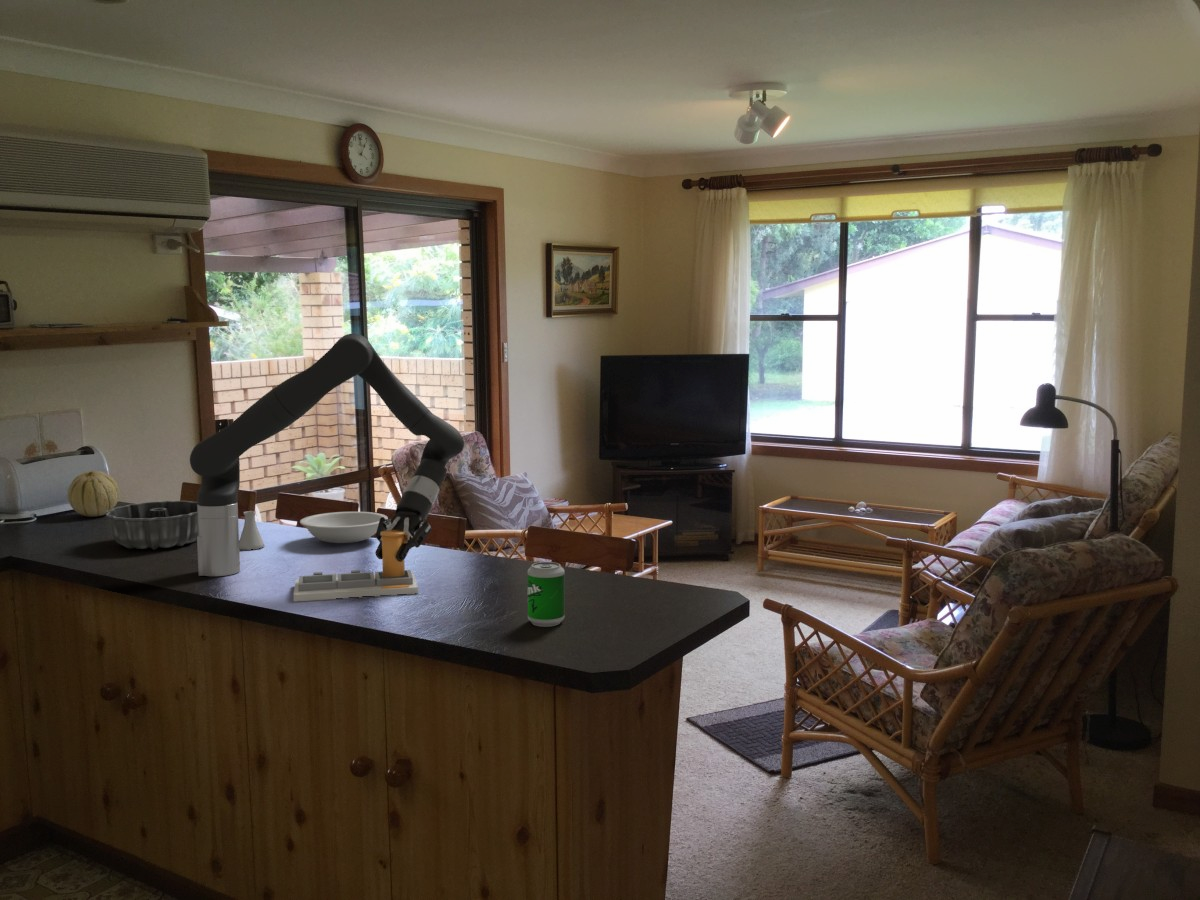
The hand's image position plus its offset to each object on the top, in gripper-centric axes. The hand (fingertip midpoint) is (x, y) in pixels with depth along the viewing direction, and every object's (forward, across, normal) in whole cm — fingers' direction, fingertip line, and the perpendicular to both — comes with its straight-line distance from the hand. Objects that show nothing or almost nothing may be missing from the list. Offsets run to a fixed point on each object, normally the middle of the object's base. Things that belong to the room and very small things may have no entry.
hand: (388, 558), depth 227 cm
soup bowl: (-21, -43, +32) cm, 58 cm away
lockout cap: (+2, 0, +4) cm, 5 cm away
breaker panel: (+8, -6, +2) cm, 10 cm away
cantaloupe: (-18, -140, +28) cm, 144 cm away
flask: (-9, -61, +19) cm, 65 cm away
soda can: (+11, +45, 0) cm, 46 cm away
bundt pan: (-4, -88, +14) cm, 89 cm away
